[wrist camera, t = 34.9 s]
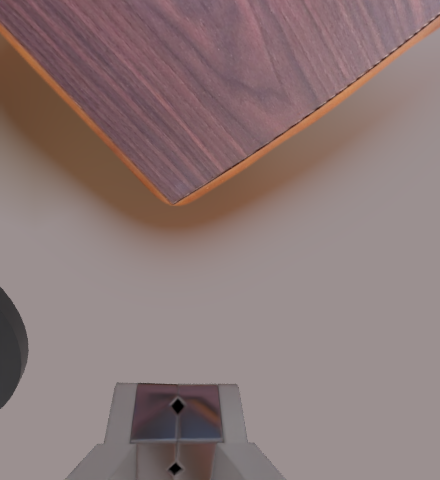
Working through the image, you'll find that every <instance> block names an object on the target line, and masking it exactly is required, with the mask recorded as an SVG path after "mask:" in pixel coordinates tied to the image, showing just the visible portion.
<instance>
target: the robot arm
mask: <svg viewBox="0 0 440 480" xmlns="http://www.w3.org/2000/svg"><path fill="white" fill-rule="evenodd" d="M65 480H286V479H285V478H284V477H283V476H282V475H281V473H280V472H279V471H278V470H277V469H276V468H275V466H274V465H273V464H272V463H271V462H270V461H269V459H267V457H266V456H265V455H264V454H263V453H262V451H261V450H260V449H259V448H258V447H257V446H256V444H255V443H248V440H247V434H246V428H245V422H244V416H243V410H242V404H241V398H240V392H239V387H238V385H237V384H152V383H117V384H116V386H115V388H114V394H113V399H112V404H111V409H110V415H109V419H108V425H107V430H106V435H105V440H104V444H97V445H96V446H95V447H94V448H93V449H92V450H91V451H90V452H89V454H88V455H87V456H86V457H85V458H84V459H83V460H82V461H81V462H80V463H79V465H78V466H77V467H76V468H75V469H74V470H73V471H72V472H71V473H70V475H69V476H68V477H67V478H66V479H65Z"/></svg>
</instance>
